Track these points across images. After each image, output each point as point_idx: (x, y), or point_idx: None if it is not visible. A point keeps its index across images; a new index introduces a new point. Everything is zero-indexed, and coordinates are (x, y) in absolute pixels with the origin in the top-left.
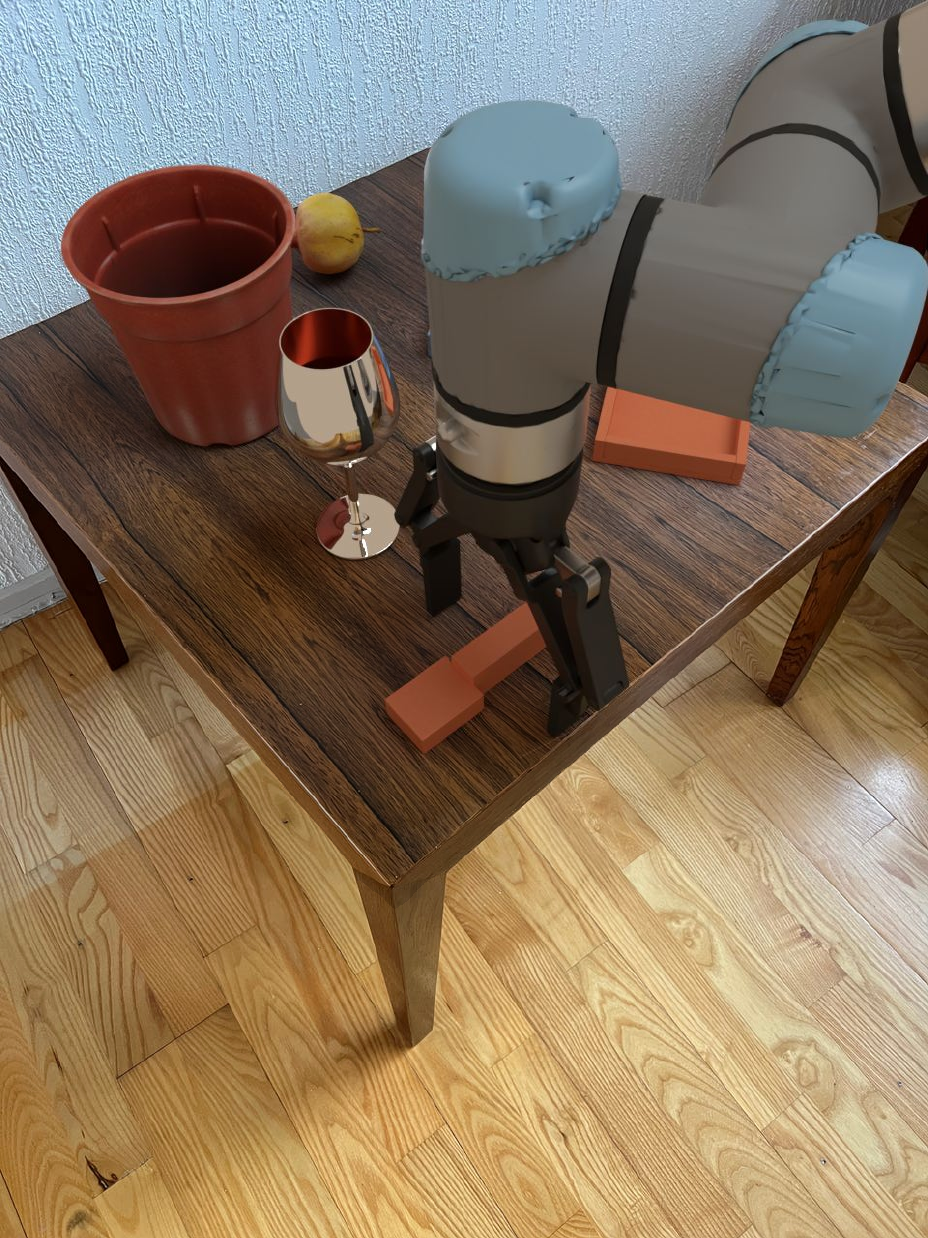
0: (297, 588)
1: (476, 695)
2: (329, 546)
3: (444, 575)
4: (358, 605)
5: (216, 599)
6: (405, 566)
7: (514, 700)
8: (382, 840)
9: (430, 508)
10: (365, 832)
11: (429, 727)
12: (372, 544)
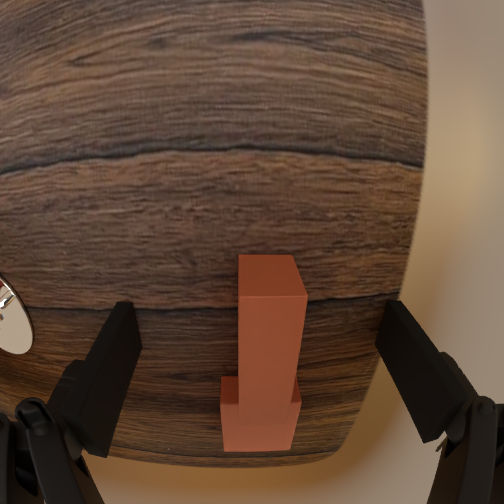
0: (50, 391)
1: (295, 406)
2: (13, 350)
3: (113, 389)
4: None
5: None
6: (54, 313)
7: (316, 345)
8: (313, 457)
9: (14, 450)
10: (299, 461)
11: (284, 443)
12: (18, 321)
